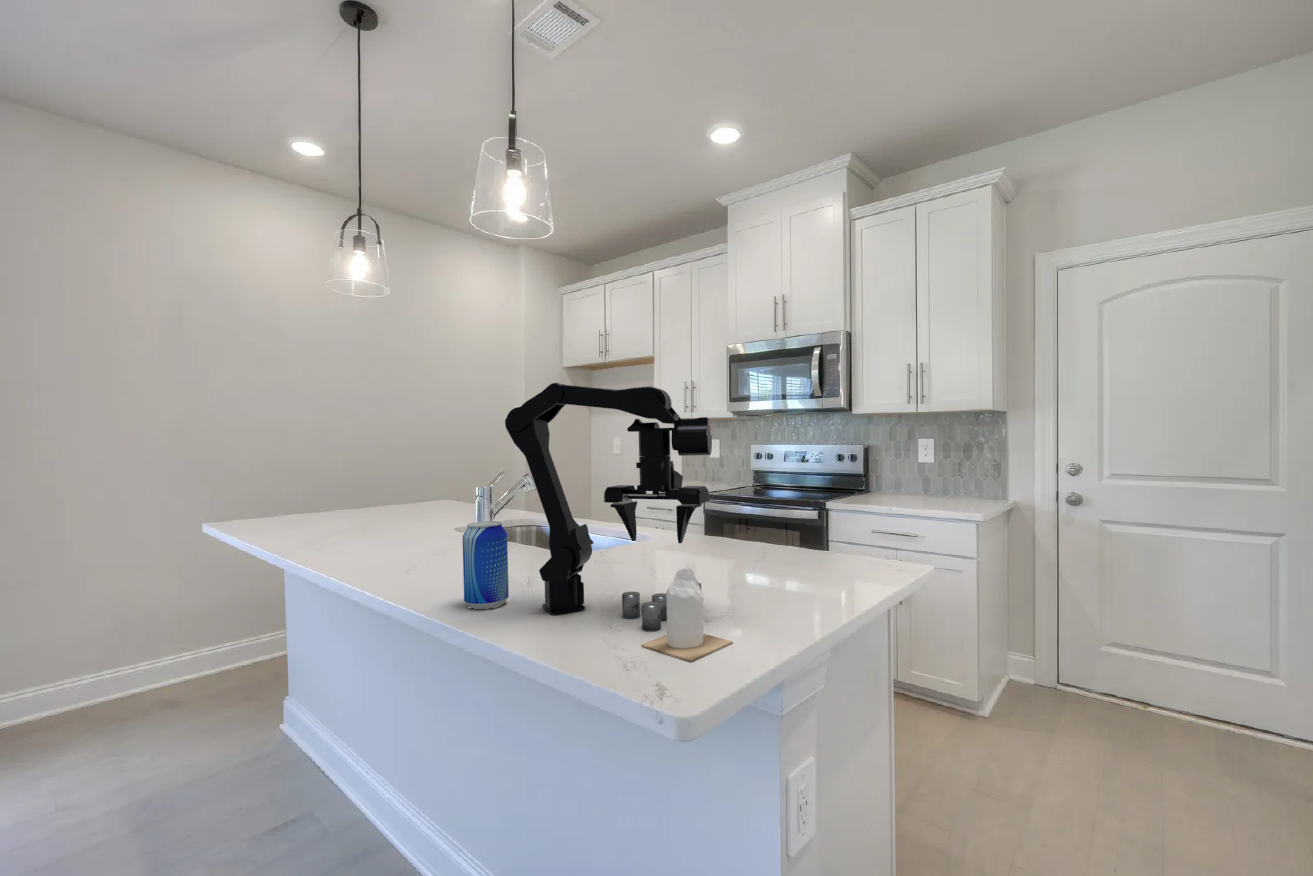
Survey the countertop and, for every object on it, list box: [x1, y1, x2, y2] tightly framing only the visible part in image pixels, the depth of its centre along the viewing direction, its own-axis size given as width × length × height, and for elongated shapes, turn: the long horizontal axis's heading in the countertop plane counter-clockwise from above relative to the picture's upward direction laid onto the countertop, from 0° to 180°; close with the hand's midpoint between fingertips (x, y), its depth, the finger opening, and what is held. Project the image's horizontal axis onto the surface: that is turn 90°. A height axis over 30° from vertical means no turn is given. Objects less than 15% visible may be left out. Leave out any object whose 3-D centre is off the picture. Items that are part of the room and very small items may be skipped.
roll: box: [665, 565, 704, 649], centre depth 91 cm, size 6×12×6 cm
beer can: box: [462, 520, 509, 610], centre depth 116 cm, size 8×8×16 cm
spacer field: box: [621, 582, 702, 632], centre depth 105 cm, size 16×14×4 cm
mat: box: [640, 633, 734, 663], centre depth 91 cm, size 10×10×1 cm
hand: (656, 541), depth 108 cm, fingers open, 9 cm apart
